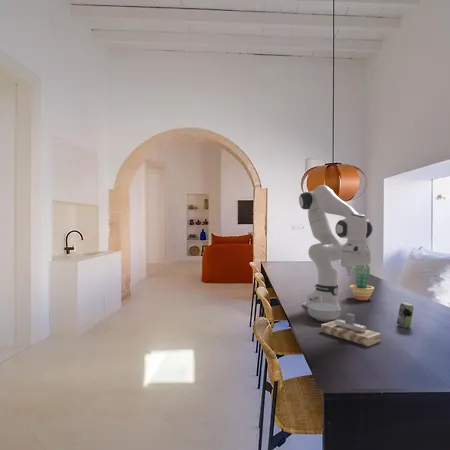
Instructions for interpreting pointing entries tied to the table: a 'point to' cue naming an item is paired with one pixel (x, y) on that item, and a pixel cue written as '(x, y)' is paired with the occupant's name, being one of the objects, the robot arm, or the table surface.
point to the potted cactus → (362, 284)
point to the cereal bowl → (324, 311)
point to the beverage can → (405, 314)
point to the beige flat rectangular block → (351, 334)
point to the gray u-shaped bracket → (350, 323)
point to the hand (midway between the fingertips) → (355, 274)
